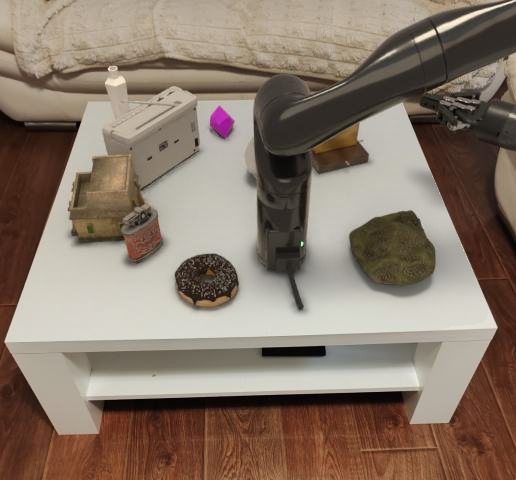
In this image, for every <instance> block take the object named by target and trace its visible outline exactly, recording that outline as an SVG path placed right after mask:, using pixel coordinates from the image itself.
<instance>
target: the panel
mask: <svg viewBox="0 0 516 480" xmlns="http://www.w3.org/2000/svg"><path fill="white" fill-rule="evenodd" d="M362 142H364V139H360V140H358V139H357V143H356V144H355V145H351V146H347V147H343V148H338V149H334V150H330V151H325V152H321V153H317V154H315V152H314V151H313V149H312V150H310V152H311V159H312V168H314V169H315V171H316V172H317V174H323V173H324V174H325V173H328V172H332V171H335V170H340V169H343V168H348V167H351V166H352V167H353V166H356V165H360V164H361V165H362V164H364V163H368V162H369V158H370V154H369V152H368V151H367V150H366V148H365V147H364V146H363V145H362V144H361V143H362Z"/></svg>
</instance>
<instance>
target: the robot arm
mask: <svg viewBox="0 0 516 480" xmlns="http://www.w3.org/2000/svg"><path fill="white" fill-rule="evenodd" d="M513 54H516V0H498V1H493V2H488V3H480V4H474V5H468V6H462V7H457V8H451V9H447V10H443V11H440V12H437V13H434V14H432V15H429V16H427V17H425V18H423V19H420V20H418V21H416V22H414V23H412V24H410V25H407V26H406V27H403V28H401V29H400V30H397V31H396V32H394V33H393V34H391V35H390V36H388V37H387V38H386V39H385V40H383V42H381V43H380V44H379V45H378V46H376V48H375V49H374V50H373V51H372V52H371V54H369V55H368V57H367V58H365V60H364V61H363V62H362V63H361V64H360V65H359V66H358V67H357V68H356V69H355V70H354V71H353V72H351V73H350V74H349V75H346V77H345V78H343V79H341V80H339V81H338V82H337V81H336V83H334V84H332V85H329V86H327V87H325V88H323V89H320V90H318V91H316V92H313V93H312V91H311V89H310V87H309V86H308V85H307V83H306V82H305V81H304V80H303V79H301V78H300V77H298V76H296V75H294V74H290V73H280V74H276V75H273V76H272V77H269V78H268V79H267V80H266V81H264V82H263V84H261V85H260V87H259V89H258V91H257V92H256V94H255V97H254V100H253V106H252V107H253V108H252V123H253V137H254V153H255V162H256V170H257V179H256V238H257V243H256V244H257V247H256V256H257V258H258V261H259V262H260V263H261V264H262V265H263V266H265V268H266V271H275V272H277V273H278V272H287V276H288V280H289V283H290V286H291V290H292V293H293V297H294V299H295V302H296V305H297V306H296V307H297V309H299V310H302V309H304V304H303V301H302V298H301V295H300V292H299V289H298V286H297V282H296V279H295V274H294V272H299V271H301V264H302V263H303V262H305V259H306V256H307V243H308V242H307V240H308V229H309V228H308V226H309V216H310V202H311V192H312V182H313V181H312V179H313V165H312V159H311V152H310V150H312V149H314V148H315V147H317V146H319V145H321V144H323V143H324V142H326V141H328V140H329V139H331V138H333V137H335V136H336V135H338V134H340V133H342V132H343V131H345V130H347V129H349V128H351V127H352V126H354V125H356V124H358V123H359V124H360V123H362V122H365V121H366V120H368V119H371V118H372V117H374V116H378V115H379V114H381V113H384V112H385V111H387V110H389V109H392V108H393V107H396V106H398V105H401V104H402V103H405V102H407V101H410V100H412V99H415V98H417V97H420V96H421V97H420V102H419V106H420V107H421V108H424V109H427V110H430V111H433V112H436V117H435V120H436V121H437V122H438V123H439V124H440V126H441V127H443V129H444V130H445V131H446V132H447V133H448V134H449V135H455V134H456V130H463V131H465V132H472V133H475V138H476V140H477V141H480V142H483V143H486V144H489V145H492V146H495V147H498V148H501V149H504V150H507V151H509V152H513V153H516V104H515V103H513V102H509V101H506V100H503V99H500V98H493V99H491V100H490V102H489V103H488V102H487V101H484V100H482V99H481V95H482V93H481V92H480V91H468V92H467V91H464V92H451V93H450V94H449V95H445V96H443V97H442V96H439V95H435V94H433V93H429V92H431V91H434V90H436V89H438V88H440V87H442V86H444V85H447V84H449V83H451V82H454V81H455V80H457V79H459V78H461V77H464V76H465V75H468V74H470V73H473V72H475V71H477V70H479V69H482V68H484V67H486V66H488V65H491V64H494V63H496V62H498V61H500V60H502V59H504V58H507V57H509V56H511V55H513Z"/></svg>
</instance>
